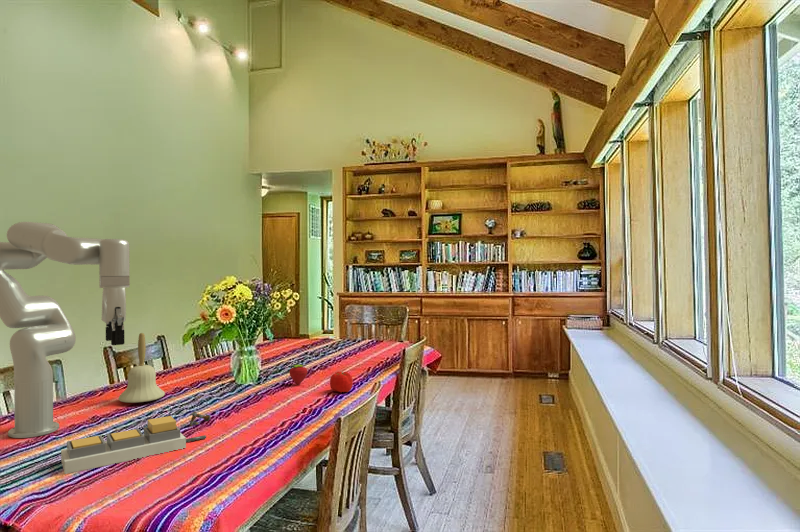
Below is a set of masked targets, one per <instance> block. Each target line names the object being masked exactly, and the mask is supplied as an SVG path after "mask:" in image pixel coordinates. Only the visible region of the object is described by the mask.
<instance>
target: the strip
mask: <svg viewBox="0 0 800 532" xmlns="http://www.w3.org/2000/svg"><path fill="white" fill-rule="evenodd" d="M136 430H137V432H138V433H139V434H140V437H135V438H130V439H124V440H119V441H114V442H113V440H112V438H111V434H112V433H108V434H106V441H105V440H104V438H103V436H102V435H97V436H98V437H99V439H100V441H101V444H98V445H92V446H87V447H81V448H76V449H72V448H71V440H68V441H67V440H66V448H62V449H61V450H60V451H61V452H60V458H61V460H60V461H61V466H62V468H63V472H64V475H66V474H67V475H68V474H71V473H72V474H73V473H77V472H82V471H86V470H91V469H95V468H101V467H106V466H110V465H115V463H116V464H120V463H125V462H129V460H130V461H134V460H133V459H135V460H138V459H137V458H139V459H143V458H142V457H144V458H147V457H146V456H149V455H154V454H159V455H161V454H160V453H163V454H165V453H164V452H168V453H170V452H169V451H173V450H178V449H182V450H184V449H183V448H186V449H187V443H191V442H190V441H192V442H196V441H195V440H197V441H201V440H200V439H202V440H205V438H206V439H207V435H206V434H205V435H199V436H194V437H189V438H187V437H186V436H185V435H184V434H183V433H181V428H180V427H178V426H177V425H176V429H174V430H169V431H163V432H158V433H152V432H151V431H150V430H149V429H148V426H147V427H143V432H142V431H141V430H140V429H139V428H136ZM186 442H187V443H186ZM178 451H179V450H178ZM173 452H174V451H173ZM154 456H155V455H154ZM149 457H150V456H149Z"/></svg>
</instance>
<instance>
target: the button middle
mask: <svg viewBox="0 0 800 532" xmlns="http://www.w3.org/2000/svg"><path fill="white" fill-rule="evenodd" d="M136 429H137V428H136ZM136 429H135V428H134V429H130V430H125V431H124V430H123V431H118V432H112V433H110V434H111V438H112V440H113V442H114V441H119V440H124V439H130V438H135V437H140V434H139V433H138V432H137V430H136Z"/></svg>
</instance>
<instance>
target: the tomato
mask: <svg viewBox="0 0 800 532" xmlns="http://www.w3.org/2000/svg"><path fill="white" fill-rule="evenodd" d="M353 381H354V380H353V376H352V375H351V373H350V372H348V371H336V372H335V373H333V374H331V376H330V379H329V387H330V389H331V390H332V391H333V392H335V393H340V394H342V392H343V393H348V392H350V391H351V390H352V389H353V385H354V384H353V383H354V382H353Z"/></svg>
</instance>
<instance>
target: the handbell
mask: <svg viewBox="0 0 800 532" xmlns="http://www.w3.org/2000/svg"><path fill="white" fill-rule="evenodd" d="M137 340H138V341H137V342H138V343H137V354H138V355H137V356H138V362H139V364H138V365H135V366H133V367H131V368H130V370H129V371H128V374H127V387H126V389H124V391H122V393H120V395H119V397H118V398H117V399H118V401H119V402H122V403H129V404H130V403H144V402H151V401H155V400H159V399H161V398H162V397H164V396H165V393H166V392H165V391H164V389H161V387H159V386H158V385H157V382H156V377H157V375H156V374H157V373H156V372H157V371H156V369H155V368H154V367H153V366H151V365H149V364H146V363H145V358H146V351H147V348H146V336H145V333H143V332H140V333H139V335H138V339H137Z"/></svg>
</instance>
